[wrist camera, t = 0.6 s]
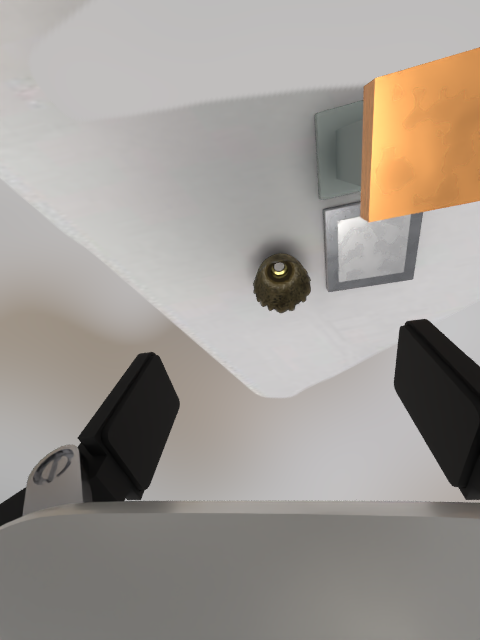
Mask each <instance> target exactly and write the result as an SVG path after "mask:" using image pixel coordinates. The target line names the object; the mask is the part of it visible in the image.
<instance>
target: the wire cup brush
mask: <svg viewBox="0 0 480 640" xmlns="http://www.w3.org/2000/svg"><path fill="white" fill-rule="evenodd" d="M279 262H281V263H283V264H284V269H283V270H282V271H280V272H277V271H276V270H275V269H274V264H276V263H279ZM310 281H311V280H310V277H309V276H308V274H307V271H306V270H305V269H304V268H303V266H302V265H301V264H300V262H299V261H298V260H297V259H295V258H294V257H292V256H290V255H288V254H275V255H272V256H270V257H268V258H267V259H266V260H265V261H264V262H263V263H262V264H261V266H260V268H259V270H258V272H257V275H256V277H255V280H254V283H253V286H254V294H256V297H257V301H258V302H260V304H261V306H263V307H265V306H267V307H268V310H269V311H271V310H273V309H275V310H276V311H277V312H279V313H284V312H286V311H287V310H289V311H293V310H294V309H295V305H296V304H299V303H300V302H301V301H302V302H305V301H306V296H308V295H309V293H310V291H311V287H310Z"/></svg>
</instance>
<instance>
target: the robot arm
mask: <svg viewBox="0 0 480 640" xmlns="http://www.w3.org/2000/svg"><path fill="white" fill-rule="evenodd" d="M394 387H395V390H396V392H397V394H398V396H399V397H400V399H401V401H402V403H403V404H404V406H405V408H406V409H407V411H408V413H409V414H410V416H411V418H412V420H413V421H414V423H415V425H416V426H417V428H418V430H419V432H420V433H421V435H422V436H423V438H424V440H425V442H426V444H427V445H428V447H429V449H430V450H431V452H432V454H433V455H434V457H435V459H436V460H437V462H438V464H439V466H440V467H441V469H442V471H443V472H444V474H445V476H446V477H447V479H448V481H449V482H450V484H451V485H452V486H454V487H459V489H460V491H461V492H462V494H463V496H464V497H465V499H466V500H480V367H479V366H478V365H477V364H476V363H475V362H474V361H473V360H472V359H471V358H469V357H468V356H467V355H466V354H465V353H464V352H463V351H461V350H460V349H459V348H458V347H457V346H456V345H455V344H454V343H453V342H451V341H450V340H449V339H448V338H447V337H446V336H445V335H444V334H443V333H442V332H440V331H439V330H438V329H437V328H436V327H435V326H434V325H433V324H432V323H431V322H430V321H428V320H427V319H421V320H413V321H407V322H406V323H405V326H401V327H400V330H399V339H398V349H397V358H396V368H395V377H394ZM179 406H180V402H179V398H178V396H177V394H176V392H175V390H174V388H173V385H172V383H171V381H170V379H169V376H168V375H167V372H166V370H165V368H164V365H163V363H162V361H161V359H160V357H159V356H158V355H156V354H155V353H153V352H149V353H141V354H139V355H138V356H137V357H136V358H135V360H134V361H133V362H132V364H131V365H130V367H129V368H128V369H127V371H126V372H125V373H124V375H123V376H122V377H121V379H120V380H119V382H118V383H117V384H116V386H115V387H114V389H113V390H112V391H111V393H110V394H109V395H108V397H107V398H106V399H105V401H104V402H103V404H102V405H101V407H100V408H99V409H98V411H97V412H96V413H95V415H94V416H93V417H92V419H91V420H90V422H89V423H88V424H87V426H86V427H85V429H84V430H83V431H82V433H81V434H80V435H79V437H78V439H79V440H80V442H81V443H80V445H79V446H78V447H76V446H75V445H65V446H61V447H59V448H57V449H55V450H54V451H52V452H50V453H49V454H47V455H46V456H45V457H44V458H43V459H42V460H40V461H39V463H38V464H37V465H36V466H35V467H34V468H33V470H32V472H31V473H30V475H29V477H28V481H27V486H26V488H24V489H23V490H21V491H19V492H18V493H16V494H15V495H13V496H12V497H10V498H9V499H7V500H6V501H4V502H3V503H1V504H0V640H480V503H463V502H421V501H420V502H419V501H124V500H125V498H126V499H127V500H141V498H142V495H143V493H144V490H146V489H147V488H148V487H149V485H150V483H151V480H152V478H153V475H154V473H155V470H156V467H157V465H158V462H159V460H160V457H161V454H162V452H163V449H164V446H165V444H166V441H167V439H168V436H169V433H170V430H171V428H172V426H173V423H174V420H175V418H176V415H177V413H178V410H179Z"/></svg>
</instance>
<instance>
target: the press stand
mask: <svg viewBox="0 0 480 640" xmlns="http://www.w3.org/2000/svg"><path fill="white" fill-rule="evenodd" d="M315 132H316V152H317V171H318V191H319V199H320V200H324V199H328V198H333V197H338V196H342V195H347V194H351V193H356V192H361V170H362V133H363V100H362V101H359V102H355V103H351V104H348V105H344V106H341V107H337V108H334V109H330V110H327V111H323V112H320V113H317V114H315Z"/></svg>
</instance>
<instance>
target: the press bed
mask: <svg viewBox="0 0 480 640" xmlns="http://www.w3.org/2000/svg"><path fill="white" fill-rule="evenodd" d="M360 206H361V202H357V203H352V204H347V205H343V206H338V207H333V208H328V209H324V210H323V215H324V238H325V260H326V283H327V290H328V292H333V291H339V290H346V289H353V288H359V287H366V286H372V285H379V284H386V283H392V282H399V281H406V280H412V279H413V276H414V270H415V263H416V256H417V249H418V243H419V236H420V229H421V222H422V216H423V212H420V213H415V214H410V215H404V216H399V217H394V218H389V219H384V220H379V221H374V222H367V221H366V220H364V219H362V218H361V217H360Z"/></svg>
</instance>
